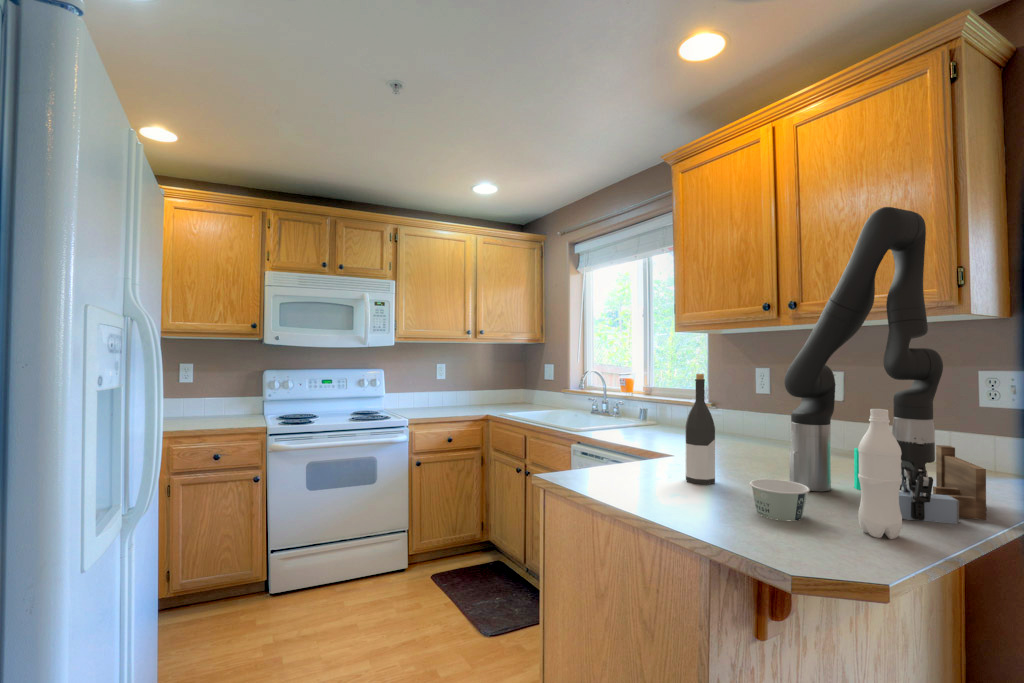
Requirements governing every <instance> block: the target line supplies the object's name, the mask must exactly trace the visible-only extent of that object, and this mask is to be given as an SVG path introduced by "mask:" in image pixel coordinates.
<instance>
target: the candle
mask: <svg viewBox="0 0 1024 683" xmlns="http://www.w3.org/2000/svg"><path fill="white" fill-rule="evenodd" d="M853 458H854V459H853V472H854V473H853V477H854V478H853V479H854V480H853V481H854V482H853V483H854V485H853V486H854V489H856V490H858V491H861V486H860V481H859V477H858V474H859V451H858V447H854V449H853Z"/></svg>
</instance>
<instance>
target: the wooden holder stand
mask: <svg viewBox="0 0 1024 683" xmlns="http://www.w3.org/2000/svg"><path fill="white" fill-rule="evenodd" d="M935 463H936V466H935V467H936V468H935V470H936V474H935V475H936V476H935V477H936V478H935V480H936V481H935V482H936V484H935V485H936V486H935V485H934V486H932V494H938V495H948V496H951V497H953V498H955V499H957V500H958V501H959V519H962V518H963V519H970V520H971V519H972V520H974V519H975V520H983V521H987V468H984V467H982V466H979V465H976V464H974V463H972V462H969V461H967V460H963V459H962V458H959V457H957V456H956V447H954V446H952V445H941V444H940V445H939V444H935Z"/></svg>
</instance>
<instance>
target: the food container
mask: <svg viewBox="0 0 1024 683" xmlns="http://www.w3.org/2000/svg"><path fill="white" fill-rule="evenodd" d="M749 485H750V487H751V488H752V489H751V490H752V494H753V500H754V506H755V511H756V513H757V515H759V514H760V515H759V516H761V515H762V516H761V517H763V516H765V517H764V518H766V517H768V518H767V519H769V518H772V519H771V520H774V519H778V520H777V521H780V520H797V521H800V520H799V519H801V520H802V519H803V516H804V512H805V506H806V501H807V496H808V493H809V492H811V491H810V489H809V488H808V487H807V486H805V485H802V484H799V483H796V482H791V481H790V480H784V479H775V478H773V479H772V478H759V479H753V480H750V482H749Z"/></svg>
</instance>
